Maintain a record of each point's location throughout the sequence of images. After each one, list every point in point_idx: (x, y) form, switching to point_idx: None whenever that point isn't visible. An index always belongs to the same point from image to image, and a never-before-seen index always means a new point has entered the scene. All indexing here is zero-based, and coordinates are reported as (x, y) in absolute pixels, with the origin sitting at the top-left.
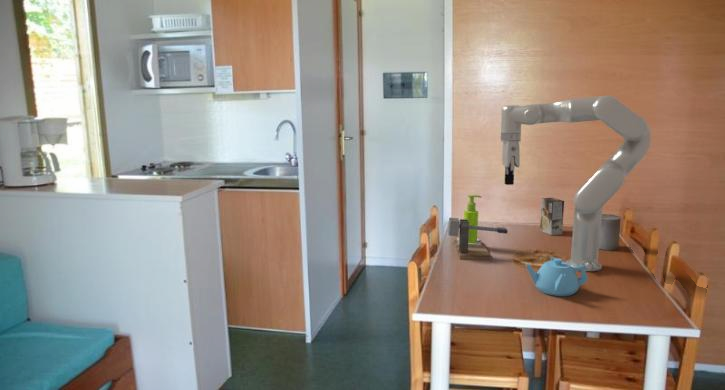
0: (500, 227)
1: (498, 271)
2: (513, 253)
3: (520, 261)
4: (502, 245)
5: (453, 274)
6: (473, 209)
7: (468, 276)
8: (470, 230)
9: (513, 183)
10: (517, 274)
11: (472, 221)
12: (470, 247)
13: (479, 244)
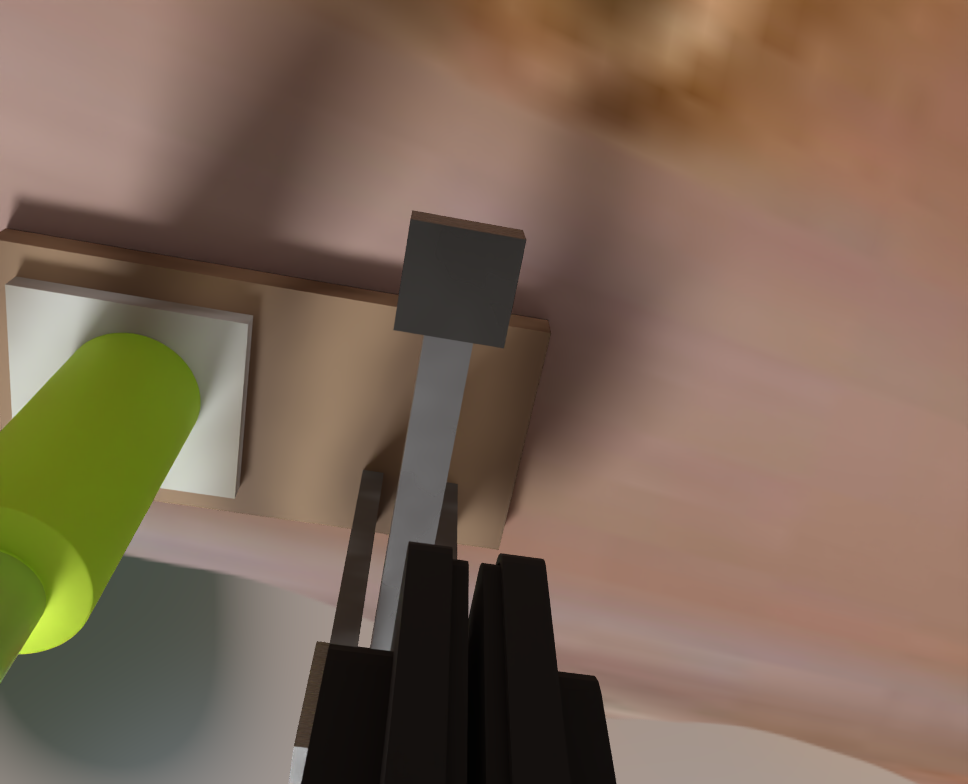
0: (401, 286)
1: (841, 358)
2: (375, 24)
3: (640, 66)
4: (70, 24)
5: (808, 642)
6: (29, 596)
7: (873, 574)
8: (162, 476)
9: (543, 575)
10: (954, 243)
11: (130, 519)
12: (274, 414)
13: (246, 342)
